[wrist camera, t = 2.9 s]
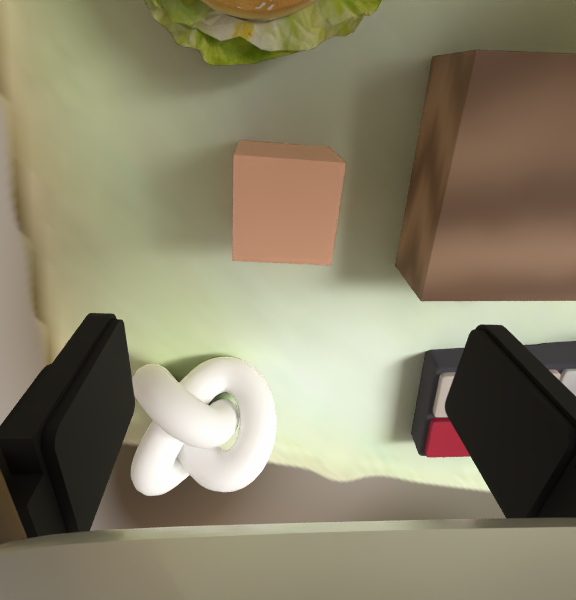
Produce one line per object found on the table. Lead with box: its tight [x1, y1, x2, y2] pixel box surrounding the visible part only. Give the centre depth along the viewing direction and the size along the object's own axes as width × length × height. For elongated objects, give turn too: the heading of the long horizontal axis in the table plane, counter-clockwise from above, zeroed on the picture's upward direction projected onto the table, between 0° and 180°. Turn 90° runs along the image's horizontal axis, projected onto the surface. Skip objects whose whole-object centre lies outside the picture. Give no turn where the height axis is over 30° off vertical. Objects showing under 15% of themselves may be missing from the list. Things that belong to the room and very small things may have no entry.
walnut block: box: [395, 50, 576, 301], centre depth 25 cm, size 14×14×6 cm
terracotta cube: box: [232, 140, 346, 265], centre depth 25 cm, size 6×6×6 cm
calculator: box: [411, 341, 576, 457], centre depth 37 cm, size 11×4×15 cm
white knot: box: [131, 357, 276, 496], centre depth 32 cm, size 11×12×9 cm
